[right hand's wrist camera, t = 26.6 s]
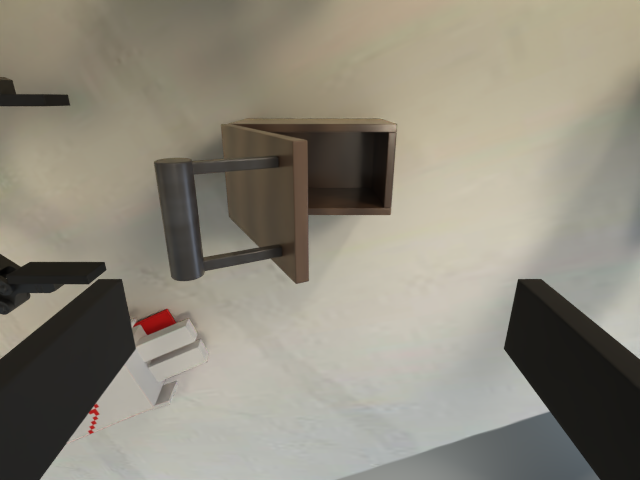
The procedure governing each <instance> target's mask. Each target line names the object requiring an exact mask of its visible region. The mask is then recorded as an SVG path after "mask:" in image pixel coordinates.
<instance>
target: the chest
mask: <svg viewBox="0 0 640 480" xmlns="http://www.w3.org/2000/svg"><path fill="white" fill-rule="evenodd" d="M229 124H233V125H237V126H242V127H247V128H251V129H256V130H261V131H266V132H270V133H275V134H280V135H285V136H289V137H294V138H299V139H304V140H307V149H308V215H390V214H391V203H392V189H393V174H394V160H395V146H396V132H397V124H395V123H392V122H389V121H386V120H383V119H244V120H240V121H236V122H232V123H229Z"/></svg>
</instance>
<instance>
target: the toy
mask: <svg viewBox="0 0 640 480" xmlns="http://www.w3.org/2000/svg"><path fill="white" fill-rule="evenodd" d="M130 322H131V326H132V331H133V336H134V341H135V346H136V350H135V351H134V352H133V354H132V355H131V356H130V358H129V359H128V360H127V362H126V363H125V364H124V366H123V367H122V369H121V370H120V371H119V373H118V374H117V375H116V377H115V378H114V379H113V381H112V382H111V383H110V385H109V386H108V388H107V389H106V390H105V392H104V393H103V394H102V396H101V397H100V398H99V400H98V401H97V403H96V404H95V405H94V407H93V408H92V409H91V411H90V412H89V413H88V415H87V416H86V417H85V419H84V420H83V422H82V423H81V424H80V426H79V427H78V428H77V430H76V431H75V432H74V434H73V435H72V436H71V438H70V439H69V441H68V442H67V443H70V442H72V441H74V440H77V439H79V438H82V437H84V436H87V435H89V434H91V433H94V432H96V431H99V430H101V429H103V428H106V427H108V426H111V425H113V424H115V423H118V422H120V421H123V420H125V419H127V418H130V417H132V416H135V415H138V414H141V413H144V412H147V411H150V410H153V409H156V408H160V407H163V406H166V405H169V404H170V403H171V400H172V398H173V395H174V393H175V390H176V388H177V385H178V383H177V381H175V382H172V383H169V384H166V385H163V384H164V381H165V379H167V378H170V377H172V376H175V375H177V374H179V373H182V372H184V371H187V370H189V369H191V368H194V367H196V366H199V365H201V364H203V363H206V362H207V360H208V356H209V352H208V350H207V348H206V347H205V345H204V343H203V342H202V340H201V339H199V340H196V337H197V334H198V333H197V331H196V330H195V328H194V326H193V324H192V323H191V321H190V319H189V318H188V319H186V320H183V321H181V322H178V323H176V322H175V320H174V319H173V317H172V315H171V314H170V312H169V311H168V309H166V310H164V311H161V312H159V313H157V314H155V315H152V316H150V317H148V318H146V319H144V320H141V321H139V322H137V320H136V319H135V318H134V319H132V320H130ZM136 322H137V323H136ZM195 340H196V341H195ZM67 443H66V444H67Z"/></svg>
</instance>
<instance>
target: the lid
mask: <svg viewBox="0 0 640 480" xmlns="http://www.w3.org/2000/svg"><path fill="white" fill-rule="evenodd" d="M221 131H222V142H223V154H224V159H215V160H200V161H192V160H191V159H188V158H167V159H160V160H156V161H154V166H155V172H156V179H157V186H158V192H159V199H160V205H161V212H162V219H163V225H164V232H165V238H166V245H167V252H168V258H169V265H170V271H171V277H172V278H173V279H174V280H177V281H190V280H194V279H197V278H199V277H201V276H203V275H204V273H205V271H208V270H213V269H218V268H223V267H228V266H234V265H239V264H244V263H249V262H254V261H260V260H265V259H270V258H271V259H272V260H273V261H274V262H275V263H276V264H277V265H278V266H279V267H280V268H281V269H282V270H283V271H284V272H285V273H286V274H287V275H288V276H289V277H290V278H291V279H292V280H293V281H294V282H295V283H296V284H298V283H302V282H307V281H309V249H308V149H307V140H304V139H299V138H294V137H289V136H285V135H280V134H275V133H270V132H266V131H261V130H256V129H251V128H247V127H242V126H237V125H233V124H221ZM218 172H225V177H226V188H227V200H228V211H229V217H230V218H231V219H232V220H233V221H234V222H235V223H236V224H237V225H238V226H239V227H240V228H241V229H242V230H243V231H244V232H245V233H246V234H247V235H248V236H249V237H250V238H251V239H252V240H253V241H254V242H255V243H256V244H257V245H258V246H259V247H260V248H254V249H248V250H243V251H237V252H231V253H226V254H220V255H214V256H209V257H203V251H202V242H201V234H200V225H199V217H198V208H197V199H196V191H195V182H194V174H206V173H218Z"/></svg>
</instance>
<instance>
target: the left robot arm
mask: <svg viewBox="0 0 640 480" xmlns="http://www.w3.org/2000/svg"><path fill="white" fill-rule="evenodd" d="M68 105H70V102H69V98H68V95H51V94H16V92H15V88H14V85H13V81H12V80H10V79H8V78H5V77H0V106H68ZM104 271H106V266H105V262H29V263H28V264H26V265H24V266H22V267H20V266H19V265H17V264H15V263H14V262H12V261H11V260H9V259H7V258H6V257H4V256H3V255H1V254H0V314H8V313H9V312H11V311H12V310H14V309H15V308H17V307H18V306H20V305H21V304H23V303H24V302H25V301H27V300H28V299H29V298H30V293H51V292H53V291H56V290H57V289H58V288H60V287H61V286H63V285H64V284H89V283H91V282H92V281H93V280H94V279H96V278H97V277H98V276H99V275H101V274H102V273H103V272H104ZM6 278H7V279H6Z"/></svg>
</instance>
